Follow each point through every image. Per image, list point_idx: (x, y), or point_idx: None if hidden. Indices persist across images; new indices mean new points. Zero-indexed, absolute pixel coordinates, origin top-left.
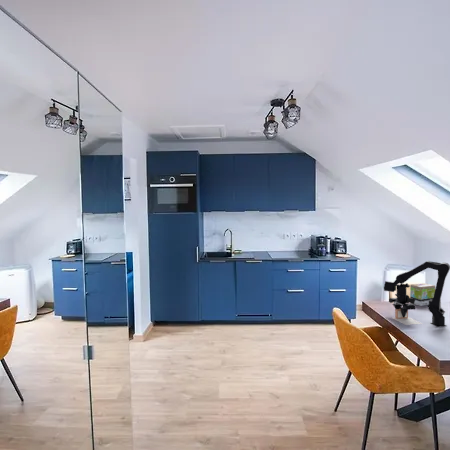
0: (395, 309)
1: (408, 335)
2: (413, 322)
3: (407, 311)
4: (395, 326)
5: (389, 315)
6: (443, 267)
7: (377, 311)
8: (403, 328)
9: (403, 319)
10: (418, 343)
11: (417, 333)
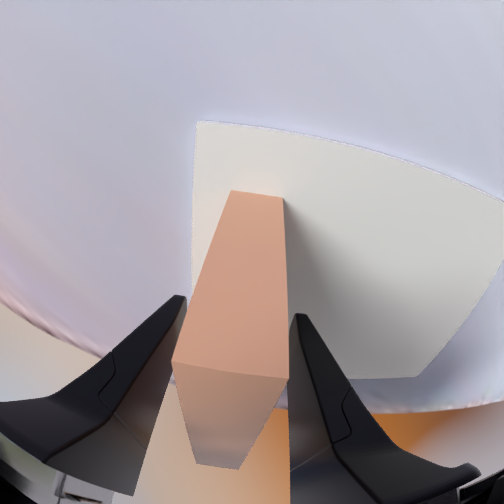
0: (205, 462)
1: (466, 404)
2: (449, 282)
3: (282, 314)
4: (373, 412)
5: (91, 301)
6: None
7: (7, 297)
8: (424, 396)
9: (305, 308)
10: (499, 400)
11: (497, 370)
